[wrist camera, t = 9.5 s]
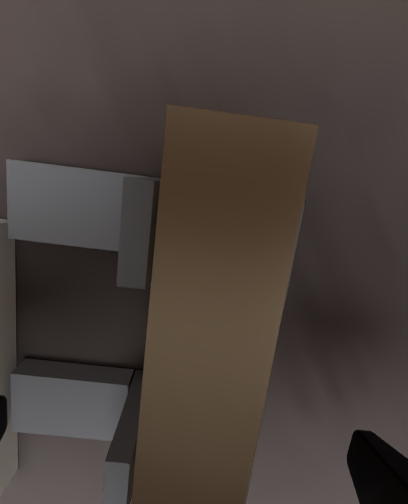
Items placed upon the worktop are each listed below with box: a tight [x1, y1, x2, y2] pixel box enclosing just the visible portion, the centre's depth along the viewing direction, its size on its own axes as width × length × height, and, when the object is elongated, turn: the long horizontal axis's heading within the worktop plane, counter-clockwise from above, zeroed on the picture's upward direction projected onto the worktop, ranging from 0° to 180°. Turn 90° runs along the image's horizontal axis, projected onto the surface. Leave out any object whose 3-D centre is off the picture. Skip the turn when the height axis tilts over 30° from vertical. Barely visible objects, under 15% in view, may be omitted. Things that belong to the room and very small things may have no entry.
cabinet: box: [0, 159, 306, 504], centre depth 12 cm, size 15×16×5 cm
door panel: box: [131, 104, 319, 504], centre depth 10 cm, size 14×2×8 cm, turn 173°
